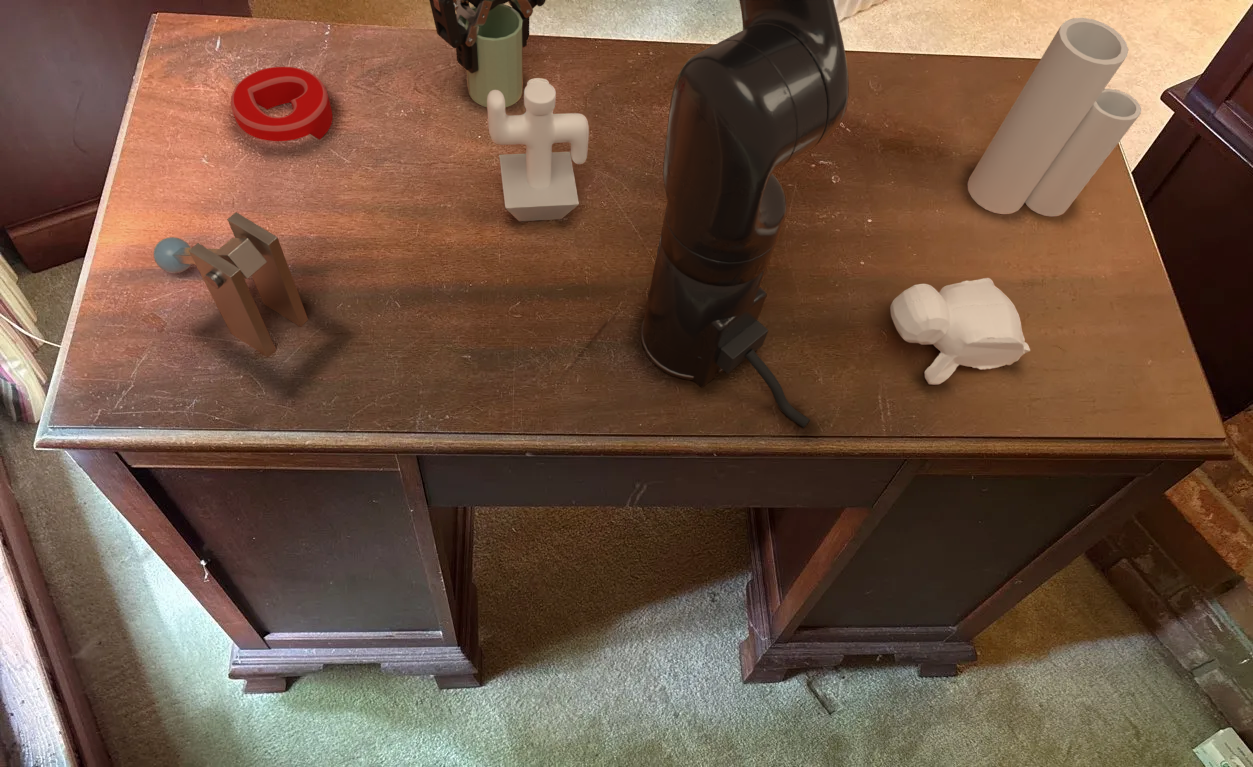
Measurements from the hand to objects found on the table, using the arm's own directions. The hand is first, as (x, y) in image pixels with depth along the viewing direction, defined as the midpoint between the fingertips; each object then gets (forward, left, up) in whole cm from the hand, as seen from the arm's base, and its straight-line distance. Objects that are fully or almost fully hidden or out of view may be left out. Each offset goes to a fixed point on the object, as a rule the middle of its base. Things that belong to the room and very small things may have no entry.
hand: (494, 55), depth 95 cm
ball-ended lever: (-9, +38, +1) cm, 39 cm away
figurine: (-16, +8, -5) cm, 18 cm away
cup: (0, 0, -5) cm, 5 cm away
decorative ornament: (+10, +21, -5) cm, 23 cm away
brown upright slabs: (-13, +37, -5) cm, 39 cm away
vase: (-48, -35, -5) cm, 60 cm away
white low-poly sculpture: (-55, -11, -5) cm, 56 cm away
